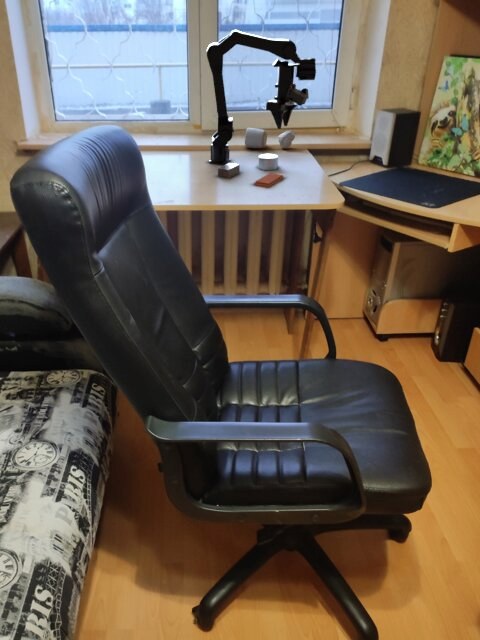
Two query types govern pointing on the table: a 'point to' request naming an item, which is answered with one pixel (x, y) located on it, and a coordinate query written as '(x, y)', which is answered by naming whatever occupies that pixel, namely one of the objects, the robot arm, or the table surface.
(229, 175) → the walnut block
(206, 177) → the table surface
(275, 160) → the silver pot
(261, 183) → the terracotta tray
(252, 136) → the ceramic mug
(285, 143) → the frog figurine
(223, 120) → the robot arm
